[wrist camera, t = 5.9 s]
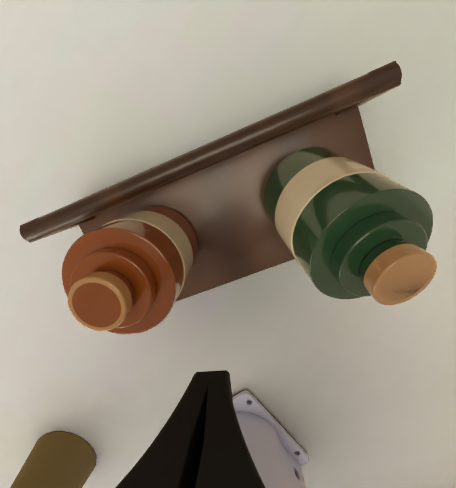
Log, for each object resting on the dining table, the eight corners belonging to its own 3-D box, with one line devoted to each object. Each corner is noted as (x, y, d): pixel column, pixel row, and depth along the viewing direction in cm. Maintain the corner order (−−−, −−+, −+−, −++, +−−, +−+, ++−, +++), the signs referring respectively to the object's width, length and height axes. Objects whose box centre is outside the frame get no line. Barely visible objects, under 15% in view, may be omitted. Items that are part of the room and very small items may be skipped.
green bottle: (361, 196, 18) (487, 278, 11) (290, 247, 19) (363, 351, 12) (326, 123, 15) (469, 174, 8) (244, 189, 16) (306, 284, 9)
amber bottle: (215, 252, 19) (193, 318, 11) (157, 296, 21) (99, 384, 13) (160, 187, 18) (92, 209, 10) (102, 238, 20) (1, 293, 11)
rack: (348, 91, 17) (403, 53, 11) (383, 222, 19) (444, 246, 14) (77, 209, 20) (11, 226, 14) (133, 313, 22) (96, 364, 16)
